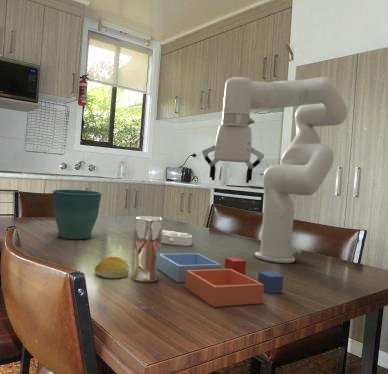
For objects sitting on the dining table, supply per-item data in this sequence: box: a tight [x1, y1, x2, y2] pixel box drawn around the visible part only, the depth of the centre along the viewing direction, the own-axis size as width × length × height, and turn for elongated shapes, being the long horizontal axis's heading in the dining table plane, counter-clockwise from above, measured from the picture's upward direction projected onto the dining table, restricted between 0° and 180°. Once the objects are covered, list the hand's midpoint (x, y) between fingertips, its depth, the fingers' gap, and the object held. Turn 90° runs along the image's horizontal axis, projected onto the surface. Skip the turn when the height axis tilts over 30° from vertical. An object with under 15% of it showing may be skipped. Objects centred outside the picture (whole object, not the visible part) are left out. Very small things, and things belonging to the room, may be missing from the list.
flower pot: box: [51, 189, 103, 240], centre depth 137 cm, size 18×18×17 cm
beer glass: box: [132, 215, 163, 283], centre depth 91 cm, size 7×7×15 cm
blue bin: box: [157, 252, 223, 283], centre depth 97 cm, size 12×12×4 cm
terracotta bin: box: [184, 268, 264, 308], centre depth 83 cm, size 12×12×4 cm
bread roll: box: [94, 256, 130, 279], centre depth 93 cm, size 8×9×4 cm
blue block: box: [257, 270, 284, 295], centre depth 88 cm, size 4×4×4 cm
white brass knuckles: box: [161, 229, 193, 247], centre depth 142 cm, size 3×18×15 cm
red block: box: [224, 256, 247, 276], centre depth 102 cm, size 4×4×4 cm
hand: (229, 181), depth 107 cm, fingers open, 9 cm apart
